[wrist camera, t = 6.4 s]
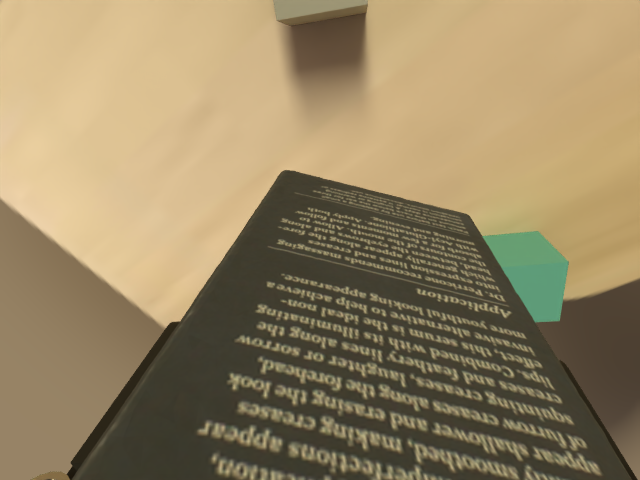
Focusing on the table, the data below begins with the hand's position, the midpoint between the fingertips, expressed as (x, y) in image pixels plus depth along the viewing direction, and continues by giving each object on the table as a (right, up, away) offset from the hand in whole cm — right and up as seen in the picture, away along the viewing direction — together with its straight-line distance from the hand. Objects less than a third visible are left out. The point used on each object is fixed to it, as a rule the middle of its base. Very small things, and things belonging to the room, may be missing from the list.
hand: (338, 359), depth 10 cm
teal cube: (+15, +1, +22) cm, 26 cm away
